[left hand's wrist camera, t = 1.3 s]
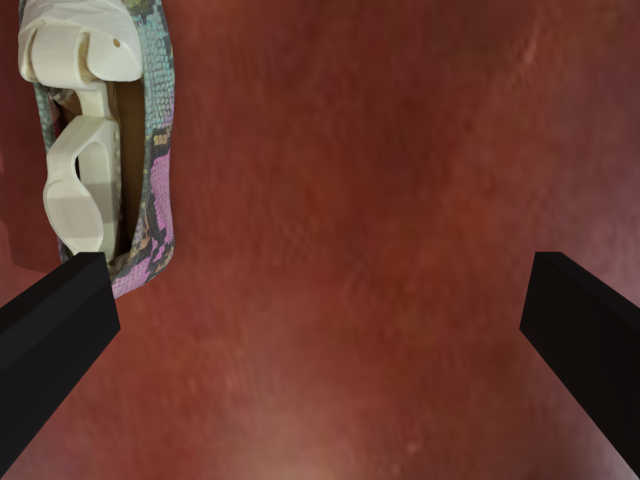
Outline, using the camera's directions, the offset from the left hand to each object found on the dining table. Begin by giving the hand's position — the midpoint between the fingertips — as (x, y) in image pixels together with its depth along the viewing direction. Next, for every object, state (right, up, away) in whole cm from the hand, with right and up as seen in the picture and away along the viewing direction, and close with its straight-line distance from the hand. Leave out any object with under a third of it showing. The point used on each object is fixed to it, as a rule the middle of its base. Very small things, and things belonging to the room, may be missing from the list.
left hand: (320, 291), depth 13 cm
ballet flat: (-14, +10, +16) cm, 24 cm away
